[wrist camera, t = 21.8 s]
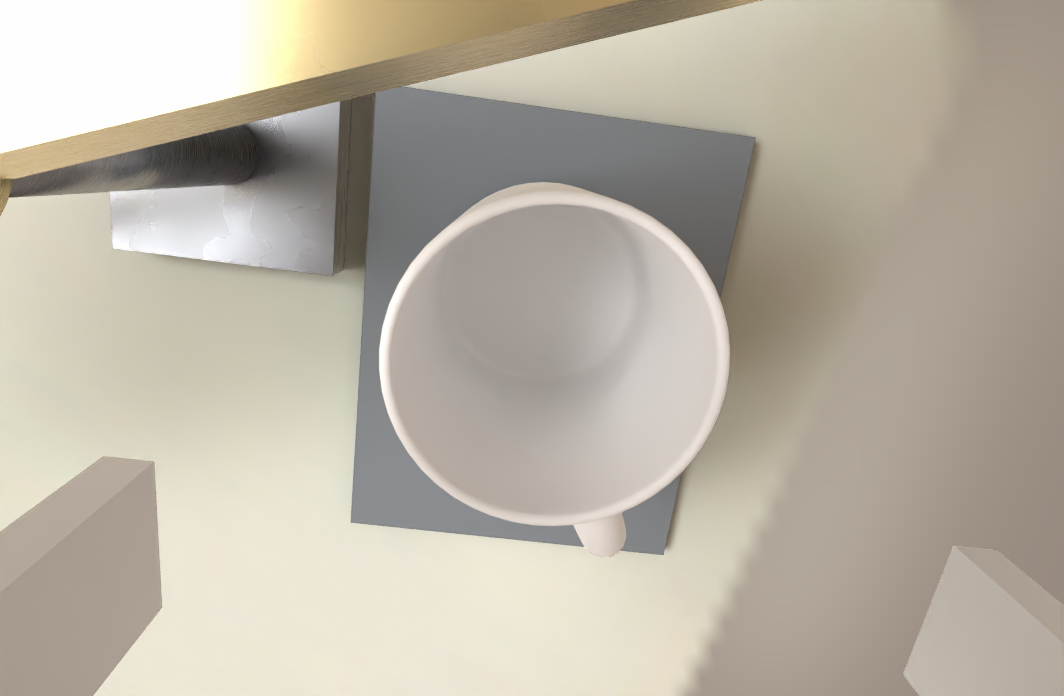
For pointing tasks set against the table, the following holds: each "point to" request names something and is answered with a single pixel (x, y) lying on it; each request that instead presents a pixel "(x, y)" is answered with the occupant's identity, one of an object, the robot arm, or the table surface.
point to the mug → (555, 359)
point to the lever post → (228, 192)
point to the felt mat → (465, 179)
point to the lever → (253, 61)
